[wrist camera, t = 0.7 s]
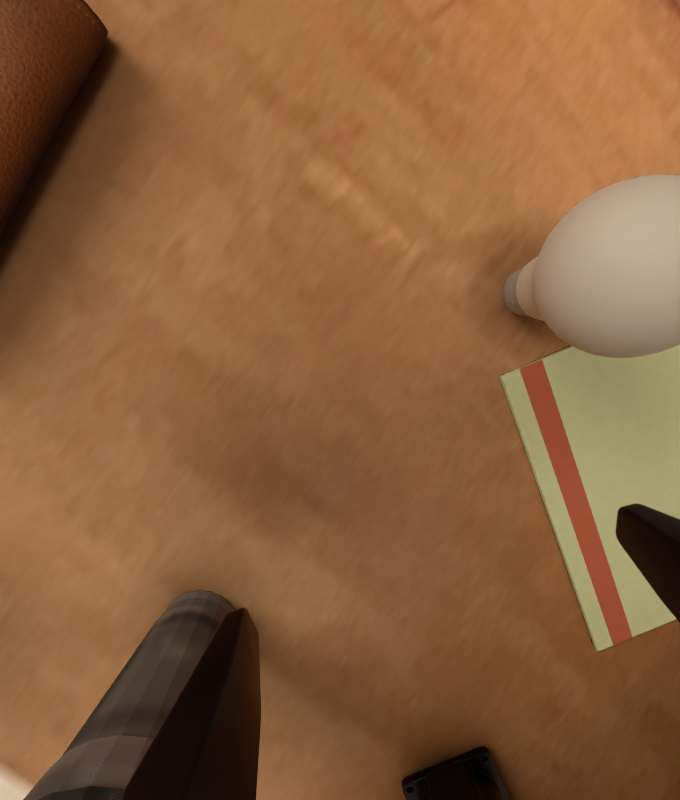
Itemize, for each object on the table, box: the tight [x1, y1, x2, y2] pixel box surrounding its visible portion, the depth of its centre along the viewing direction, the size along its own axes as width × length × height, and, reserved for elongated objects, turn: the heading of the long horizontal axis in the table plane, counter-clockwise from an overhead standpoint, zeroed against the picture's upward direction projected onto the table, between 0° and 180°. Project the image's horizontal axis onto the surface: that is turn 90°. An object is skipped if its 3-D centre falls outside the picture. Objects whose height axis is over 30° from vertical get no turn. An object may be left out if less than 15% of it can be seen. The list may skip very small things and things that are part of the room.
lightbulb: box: [502, 175, 680, 358], centre depth 16 cm, size 6×6×11 cm
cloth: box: [500, 345, 680, 651], centre depth 24 cm, size 20×16×1 cm
